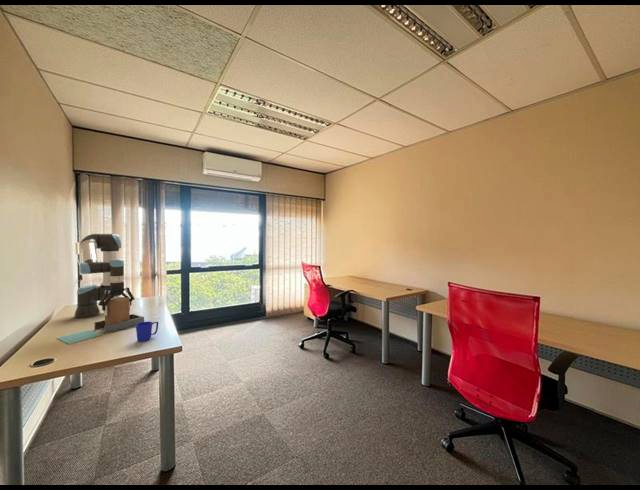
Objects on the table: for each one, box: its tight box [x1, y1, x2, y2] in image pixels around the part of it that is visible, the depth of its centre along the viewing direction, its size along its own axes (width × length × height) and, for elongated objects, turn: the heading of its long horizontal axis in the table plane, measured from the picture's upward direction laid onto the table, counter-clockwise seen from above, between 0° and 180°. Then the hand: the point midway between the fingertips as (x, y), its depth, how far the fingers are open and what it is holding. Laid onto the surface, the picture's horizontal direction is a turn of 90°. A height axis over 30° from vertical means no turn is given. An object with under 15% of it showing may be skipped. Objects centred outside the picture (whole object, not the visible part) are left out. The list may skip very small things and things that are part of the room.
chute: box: [93, 313, 145, 335], centre depth 180 cm, size 15×23×5 cm, turn 151°
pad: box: [56, 329, 103, 345], centre depth 161 cm, size 18×16×1 cm
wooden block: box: [104, 296, 130, 326], centre depth 178 cm, size 10×10×20 cm
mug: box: [135, 321, 159, 343], centre depth 158 cm, size 8×12×10 cm
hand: (117, 312), depth 178 cm, fingers open, 13 cm apart
